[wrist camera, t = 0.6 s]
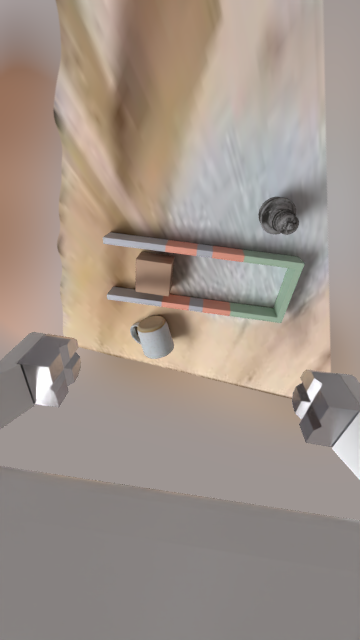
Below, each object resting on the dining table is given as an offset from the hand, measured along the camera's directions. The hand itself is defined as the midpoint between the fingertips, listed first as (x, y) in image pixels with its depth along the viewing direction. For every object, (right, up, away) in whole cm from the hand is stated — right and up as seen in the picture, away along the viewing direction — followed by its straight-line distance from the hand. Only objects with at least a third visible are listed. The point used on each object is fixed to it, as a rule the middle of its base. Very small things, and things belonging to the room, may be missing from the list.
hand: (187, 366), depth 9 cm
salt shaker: (+17, +22, +36) cm, 45 cm away
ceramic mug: (-7, 0, +53) cm, 54 cm away
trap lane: (+4, +11, +44) cm, 46 cm away
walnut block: (-5, +13, +45) cm, 47 cm away
